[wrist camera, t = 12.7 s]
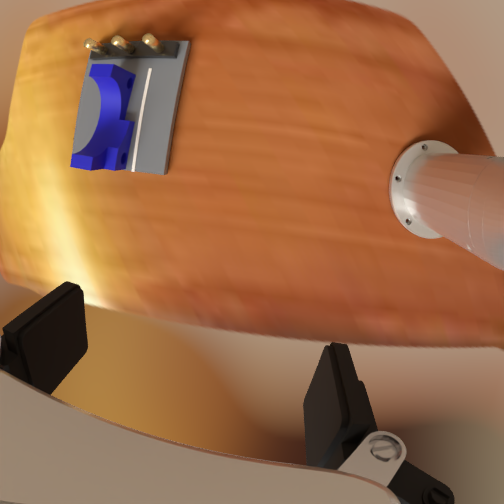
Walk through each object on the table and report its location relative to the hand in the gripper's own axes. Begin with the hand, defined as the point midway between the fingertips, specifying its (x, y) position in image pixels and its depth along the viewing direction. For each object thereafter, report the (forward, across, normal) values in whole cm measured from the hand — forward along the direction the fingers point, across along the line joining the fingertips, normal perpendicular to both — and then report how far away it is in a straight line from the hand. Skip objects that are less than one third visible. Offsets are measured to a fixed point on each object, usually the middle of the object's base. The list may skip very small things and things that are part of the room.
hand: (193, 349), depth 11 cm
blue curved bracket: (+27, +18, -9) cm, 34 cm away
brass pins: (+27, +18, -18) cm, 37 cm away
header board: (+28, +18, -11) cm, 35 cm away
